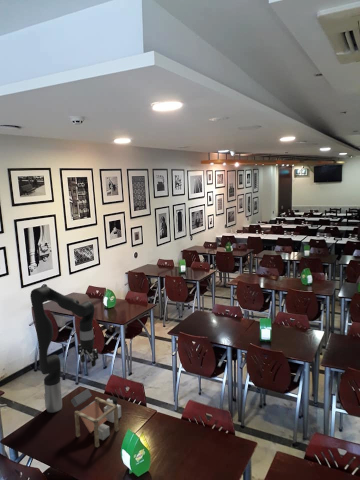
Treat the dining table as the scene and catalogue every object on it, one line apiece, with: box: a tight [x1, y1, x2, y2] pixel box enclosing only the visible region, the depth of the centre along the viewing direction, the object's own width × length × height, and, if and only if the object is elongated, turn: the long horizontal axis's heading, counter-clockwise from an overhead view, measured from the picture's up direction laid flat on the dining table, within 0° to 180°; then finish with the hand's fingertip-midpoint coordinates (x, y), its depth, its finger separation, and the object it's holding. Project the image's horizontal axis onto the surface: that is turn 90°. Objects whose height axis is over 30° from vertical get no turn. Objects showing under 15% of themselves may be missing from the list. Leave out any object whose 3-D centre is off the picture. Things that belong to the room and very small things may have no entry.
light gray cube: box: [98, 423, 111, 441], centre depth 194 cm, size 5×5×5 cm
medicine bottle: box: [103, 396, 122, 424], centre depth 209 cm, size 7×7×12 cm
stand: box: [74, 396, 120, 448], centre depth 196 cm, size 16×16×14 cm
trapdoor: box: [70, 388, 107, 434], centre depth 198 cm, size 20×12×4 cm
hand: (88, 364), depth 206 cm, fingers open, 8 cm apart
